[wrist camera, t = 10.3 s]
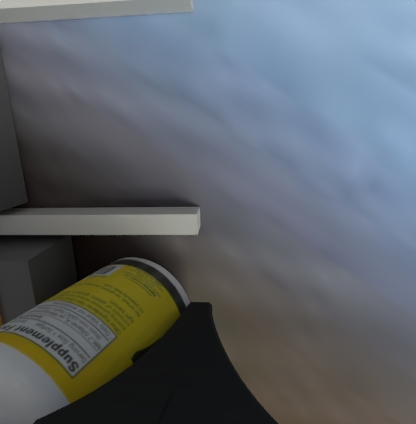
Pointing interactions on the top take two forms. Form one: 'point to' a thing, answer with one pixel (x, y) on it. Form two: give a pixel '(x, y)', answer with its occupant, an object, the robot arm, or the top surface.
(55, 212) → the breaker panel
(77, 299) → the supplement bottle
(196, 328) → the robot arm
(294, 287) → the top surface
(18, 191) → the block
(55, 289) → the breaker
